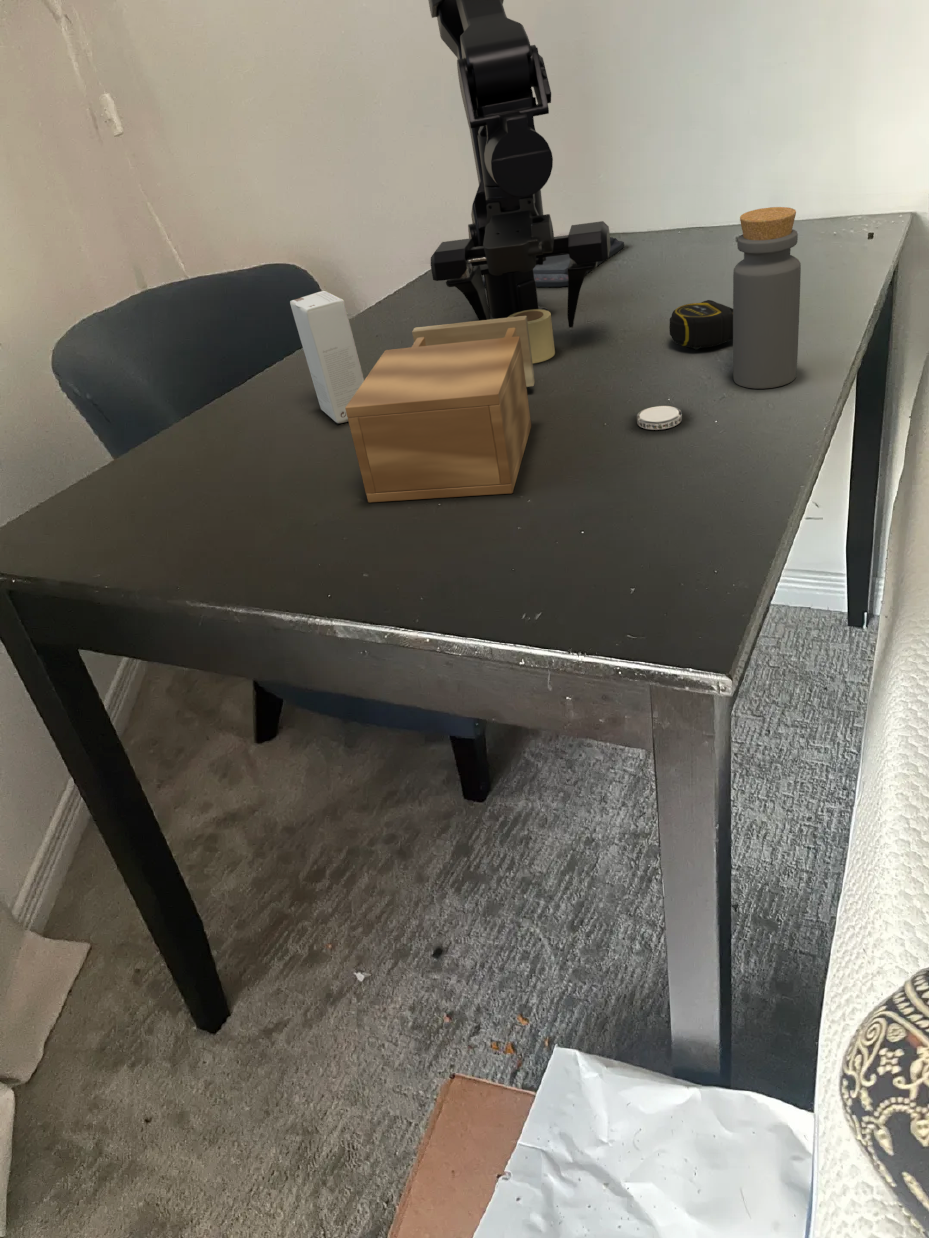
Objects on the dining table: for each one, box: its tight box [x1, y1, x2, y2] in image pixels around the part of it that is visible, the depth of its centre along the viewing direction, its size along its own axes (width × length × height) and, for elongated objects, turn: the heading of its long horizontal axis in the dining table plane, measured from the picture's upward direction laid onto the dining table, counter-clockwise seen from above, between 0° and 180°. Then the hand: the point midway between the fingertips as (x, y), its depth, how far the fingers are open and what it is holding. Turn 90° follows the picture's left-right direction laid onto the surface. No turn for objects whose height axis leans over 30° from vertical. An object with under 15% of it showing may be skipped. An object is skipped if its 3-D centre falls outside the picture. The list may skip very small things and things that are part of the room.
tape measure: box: [668, 299, 733, 350], centre depth 100 cm, size 7×7×4 cm
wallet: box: [482, 236, 625, 288], centre depth 137 cm, size 20×2×15 cm
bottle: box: [732, 206, 802, 390], centre depth 86 cm, size 6×6×15 cm
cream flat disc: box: [636, 405, 683, 431], centre depth 86 cm, size 4×4×1 cm
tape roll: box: [507, 309, 556, 364], centre depth 105 cm, size 5×5×5 cm
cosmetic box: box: [289, 290, 365, 424], centre depth 98 cm, size 6×4×12 cm
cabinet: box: [345, 336, 532, 504], centre depth 83 cm, size 14×13×9 cm
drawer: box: [411, 316, 536, 388], centre depth 93 cm, size 16×12×7 cm
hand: (529, 331), depth 105 cm, fingers open, 9 cm apart
